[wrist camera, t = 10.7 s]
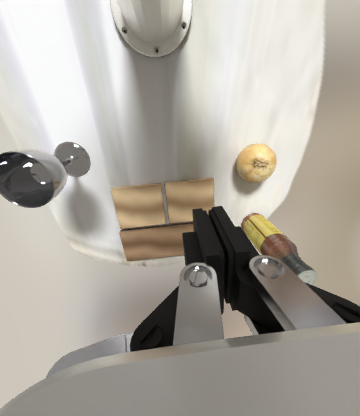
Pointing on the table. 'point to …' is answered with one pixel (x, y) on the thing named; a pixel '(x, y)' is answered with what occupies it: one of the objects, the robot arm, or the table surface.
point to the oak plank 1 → (139, 205)
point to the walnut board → (154, 241)
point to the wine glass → (40, 173)
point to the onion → (256, 163)
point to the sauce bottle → (276, 245)
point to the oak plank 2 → (188, 198)
